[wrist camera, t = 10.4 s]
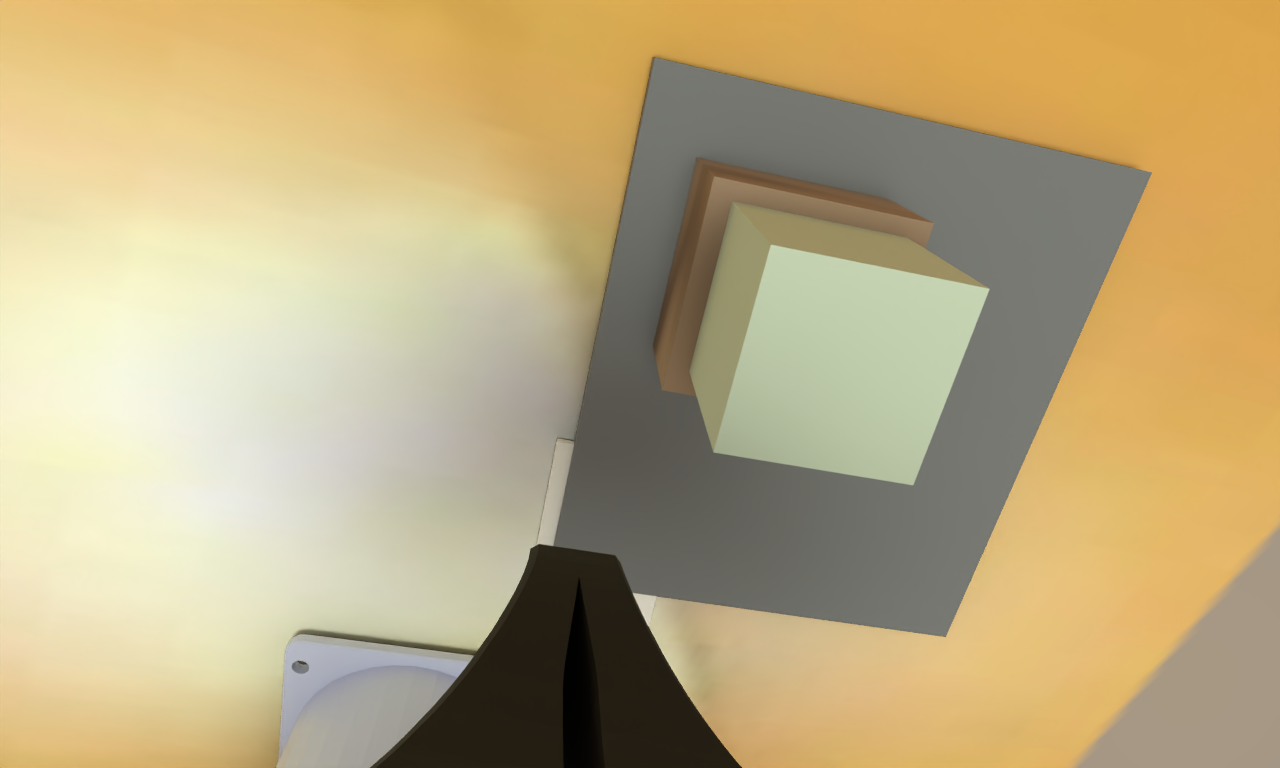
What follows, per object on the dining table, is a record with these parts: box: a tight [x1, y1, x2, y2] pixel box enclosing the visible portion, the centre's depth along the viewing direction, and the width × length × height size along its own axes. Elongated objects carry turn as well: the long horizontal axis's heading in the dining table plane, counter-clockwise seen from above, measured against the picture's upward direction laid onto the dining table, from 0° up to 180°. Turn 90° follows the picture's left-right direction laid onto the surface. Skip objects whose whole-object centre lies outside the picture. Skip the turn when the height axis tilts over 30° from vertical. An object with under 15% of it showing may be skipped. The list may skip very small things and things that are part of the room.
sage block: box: [689, 201, 989, 485], centre depth 16 cm, size 4×4×4 cm
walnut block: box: [653, 158, 934, 396], centre depth 20 cm, size 5×5×3 cm
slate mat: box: [554, 57, 1152, 637], centre depth 23 cm, size 15×13×1 cm
